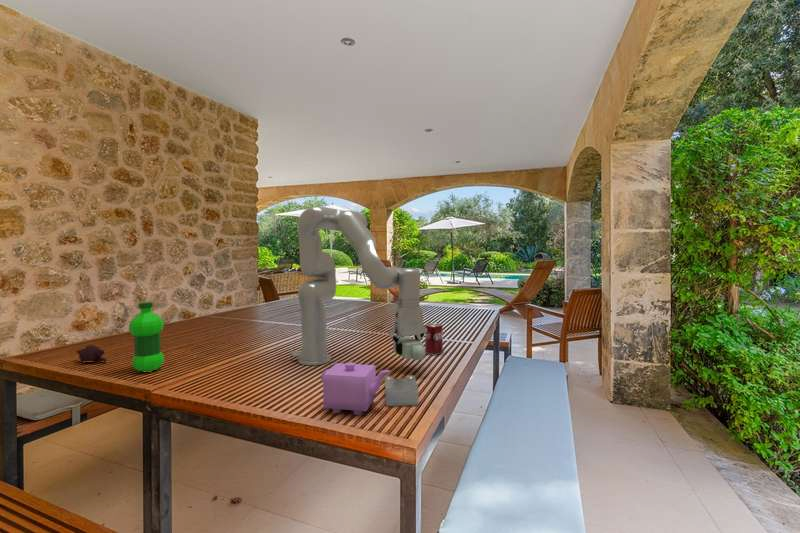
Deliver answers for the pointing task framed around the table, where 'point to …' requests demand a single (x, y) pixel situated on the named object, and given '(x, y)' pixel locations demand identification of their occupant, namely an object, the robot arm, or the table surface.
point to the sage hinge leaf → (411, 348)
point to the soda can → (434, 339)
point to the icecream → (91, 354)
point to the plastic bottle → (147, 339)
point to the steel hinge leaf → (401, 391)
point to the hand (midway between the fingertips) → (407, 352)
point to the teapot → (350, 387)
